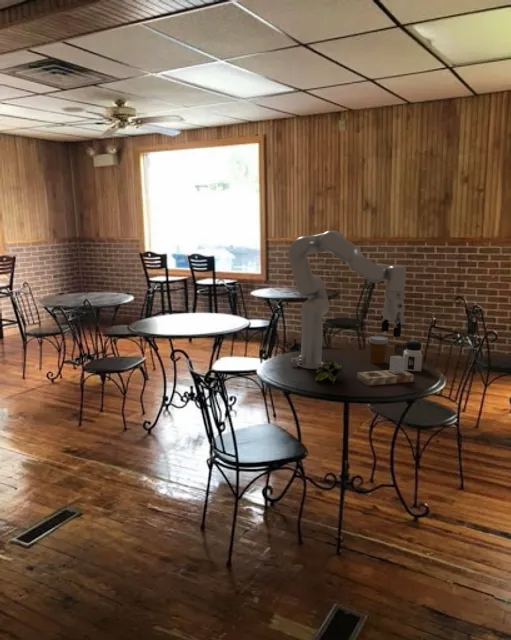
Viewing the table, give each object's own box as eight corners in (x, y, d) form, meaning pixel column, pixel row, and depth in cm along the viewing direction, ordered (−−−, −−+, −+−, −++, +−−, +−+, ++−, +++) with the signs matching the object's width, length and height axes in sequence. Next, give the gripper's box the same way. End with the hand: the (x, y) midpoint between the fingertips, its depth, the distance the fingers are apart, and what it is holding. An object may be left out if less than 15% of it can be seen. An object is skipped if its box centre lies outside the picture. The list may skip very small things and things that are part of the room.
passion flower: (328, 391, 230) (343, 367, 231) (337, 394, 219) (352, 370, 220) (308, 377, 228) (323, 353, 229) (315, 380, 217) (331, 355, 219)
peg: (394, 381, 228) (396, 358, 226) (388, 378, 232) (390, 356, 230) (403, 380, 229) (405, 358, 227) (397, 377, 233) (399, 355, 231)
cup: (406, 364, 254) (407, 348, 253) (391, 362, 258) (392, 346, 256) (410, 361, 260) (412, 345, 259) (395, 358, 264) (397, 343, 263)
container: (421, 371, 243) (423, 344, 240) (403, 370, 244) (405, 342, 242) (419, 367, 250) (421, 340, 248) (402, 365, 252) (404, 339, 249)
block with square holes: (367, 385, 221) (367, 378, 220) (356, 379, 229) (357, 372, 229) (413, 381, 228) (413, 374, 227) (401, 375, 236) (401, 369, 236)
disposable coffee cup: (363, 362, 256) (365, 338, 254) (371, 358, 264) (373, 334, 262) (382, 365, 251) (384, 341, 249) (390, 361, 259) (391, 337, 256)
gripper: (413, 298, 219) (409, 338, 223) (391, 291, 236) (387, 329, 239) (397, 298, 217) (393, 339, 221) (376, 291, 233) (372, 329, 237)
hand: (390, 333), depth 230 cm, fingers open, 9 cm apart
